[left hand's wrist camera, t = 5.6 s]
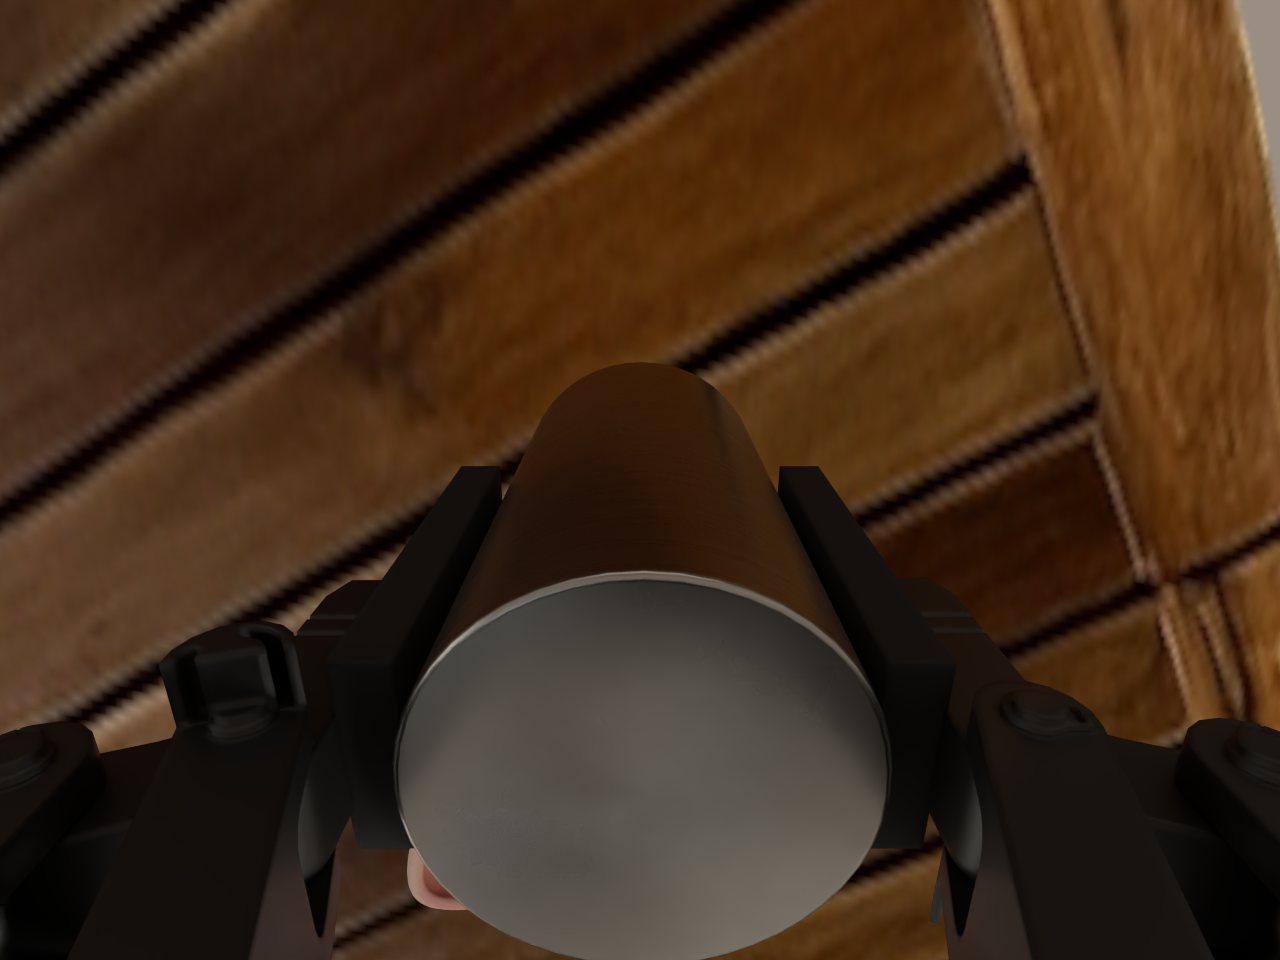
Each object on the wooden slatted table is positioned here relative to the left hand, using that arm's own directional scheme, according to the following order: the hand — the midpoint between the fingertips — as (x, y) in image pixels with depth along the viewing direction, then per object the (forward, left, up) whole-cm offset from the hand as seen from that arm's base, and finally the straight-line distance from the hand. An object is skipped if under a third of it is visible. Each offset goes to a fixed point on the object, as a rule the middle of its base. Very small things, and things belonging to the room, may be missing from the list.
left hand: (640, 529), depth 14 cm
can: (0, 0, -3) cm, 3 cm away
